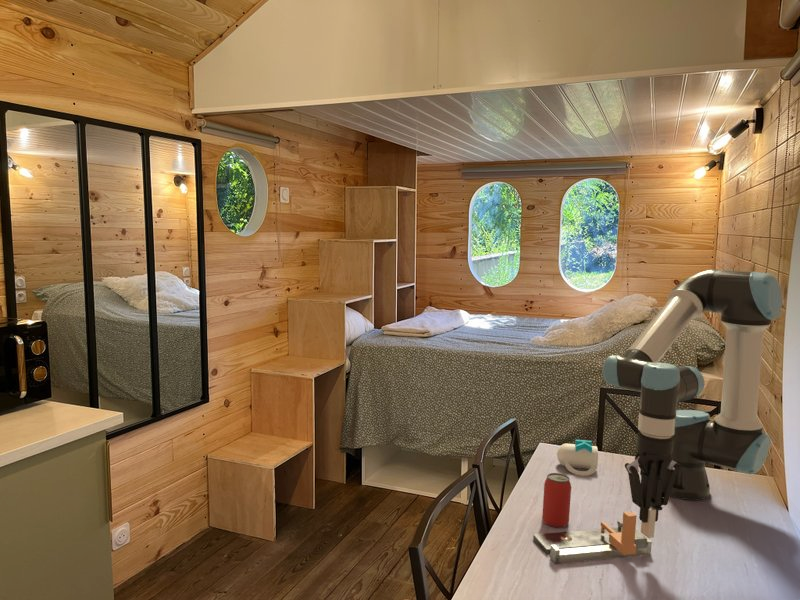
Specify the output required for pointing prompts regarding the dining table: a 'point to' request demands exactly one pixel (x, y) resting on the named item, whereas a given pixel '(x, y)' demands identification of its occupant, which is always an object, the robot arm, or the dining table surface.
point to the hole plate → (573, 539)
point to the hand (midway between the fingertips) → (647, 534)
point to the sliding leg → (623, 534)
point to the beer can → (556, 500)
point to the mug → (579, 457)
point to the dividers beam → (599, 550)
